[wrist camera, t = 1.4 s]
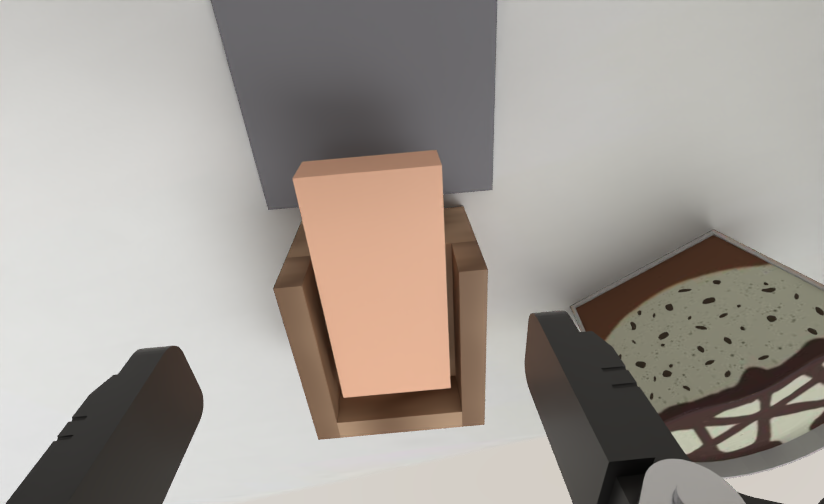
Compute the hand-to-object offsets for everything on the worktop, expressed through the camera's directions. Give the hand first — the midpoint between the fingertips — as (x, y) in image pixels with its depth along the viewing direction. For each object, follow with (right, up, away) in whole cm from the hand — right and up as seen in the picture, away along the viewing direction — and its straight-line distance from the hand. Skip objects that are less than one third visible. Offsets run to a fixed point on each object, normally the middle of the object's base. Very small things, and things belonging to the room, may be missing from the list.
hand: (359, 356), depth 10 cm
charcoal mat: (-1, +11, +9) cm, 15 cm away
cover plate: (0, +1, +10) cm, 11 cm away
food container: (+17, -1, +17) cm, 24 cm away
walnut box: (0, 0, +16) cm, 16 cm away
